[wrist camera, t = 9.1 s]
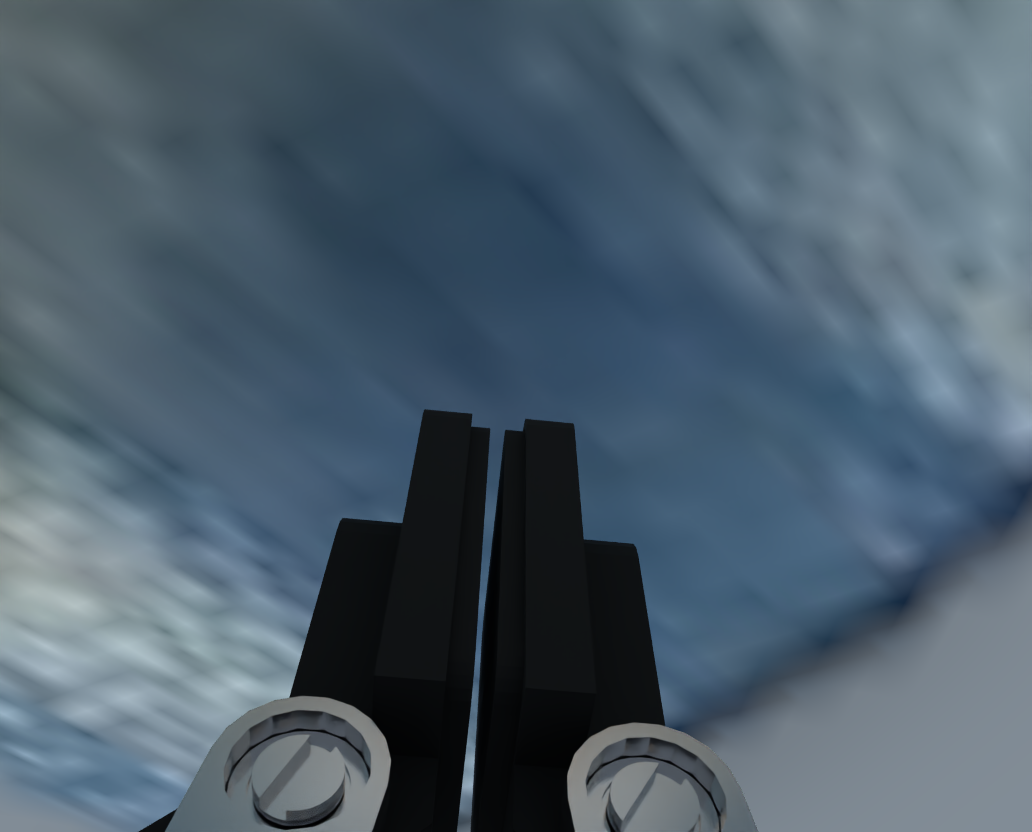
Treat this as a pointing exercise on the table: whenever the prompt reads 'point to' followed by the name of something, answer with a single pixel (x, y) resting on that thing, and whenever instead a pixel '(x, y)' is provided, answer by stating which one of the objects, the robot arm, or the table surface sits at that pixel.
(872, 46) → the table surface
